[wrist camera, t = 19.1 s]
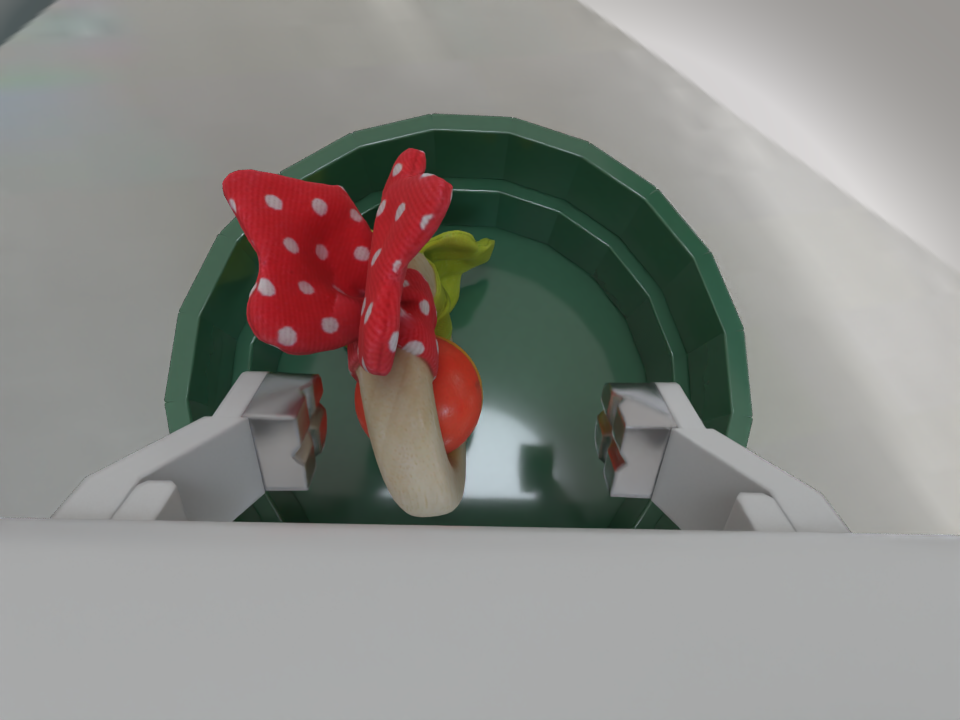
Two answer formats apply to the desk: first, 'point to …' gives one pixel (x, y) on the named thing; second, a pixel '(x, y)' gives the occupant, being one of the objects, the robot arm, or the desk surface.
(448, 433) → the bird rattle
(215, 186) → the desk surface
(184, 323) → the bowl
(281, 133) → the desk surface
